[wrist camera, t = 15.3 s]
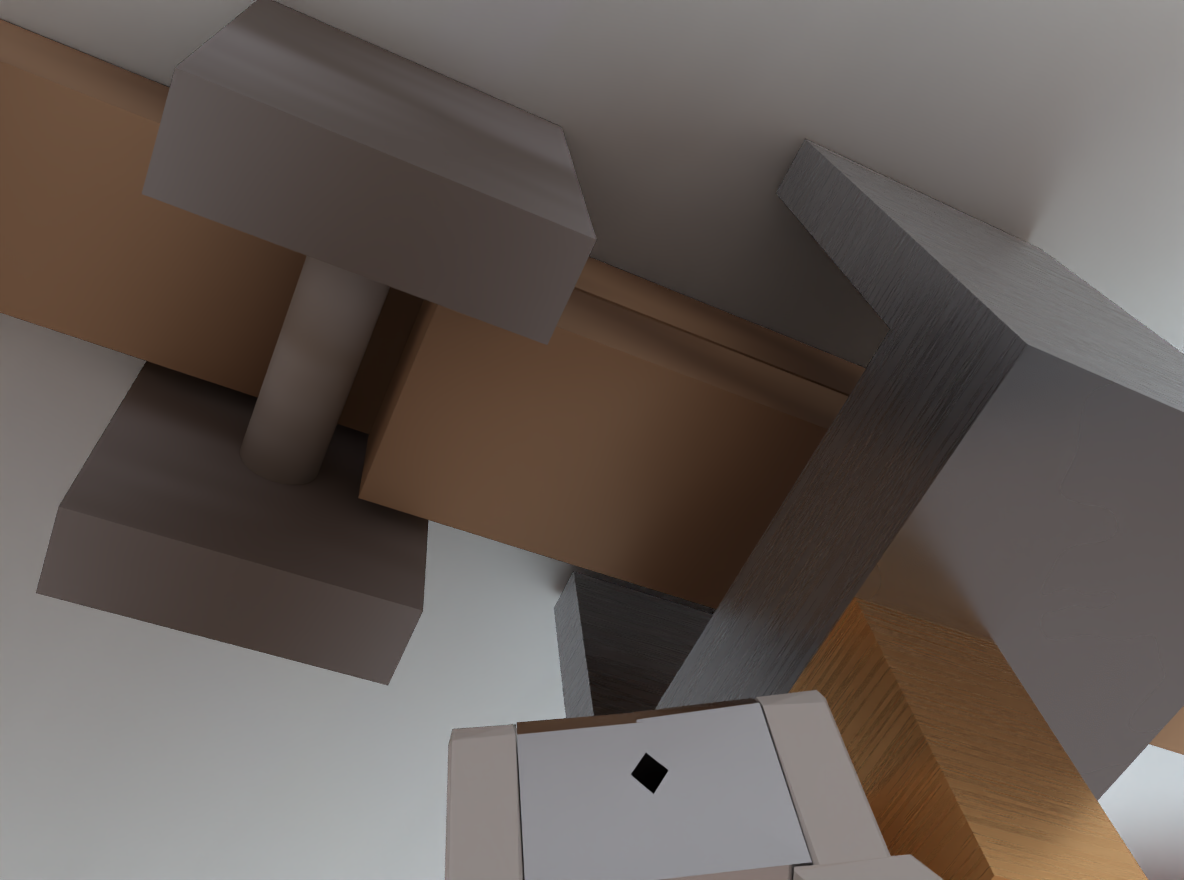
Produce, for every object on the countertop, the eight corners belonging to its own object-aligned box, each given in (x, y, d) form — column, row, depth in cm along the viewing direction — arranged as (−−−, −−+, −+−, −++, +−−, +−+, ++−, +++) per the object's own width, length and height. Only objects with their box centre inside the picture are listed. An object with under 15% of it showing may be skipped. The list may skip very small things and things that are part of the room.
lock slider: (554, 608, 18) (628, 1288, 10) (805, 138, 14) (1268, 566, 6) (761, 669, 19) (989, 1325, 11) (1040, 249, 15) (1702, 736, 7)
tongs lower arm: (-517, 190, 13) (-924, 340, 9) (-525, -349, 11) (-1082, -448, 7) (1354, 788, 23) (1538, 986, 19) (1580, 572, 20) (1845, 750, 16)
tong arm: (351, 478, 15) (340, 542, 13) (469, 188, 13) (468, 228, 12) (1440, 823, 21) (1504, 888, 20) (1623, 660, 19) (1707, 720, 18)
